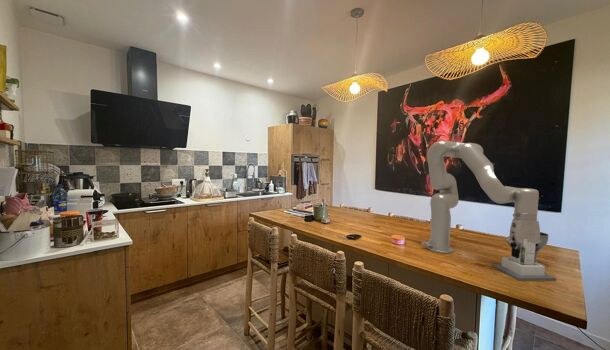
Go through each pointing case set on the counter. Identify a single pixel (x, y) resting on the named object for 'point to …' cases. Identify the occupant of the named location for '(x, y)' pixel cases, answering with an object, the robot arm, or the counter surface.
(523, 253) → the syrup box
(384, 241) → the counter surface
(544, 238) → the wine glass
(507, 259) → the dock
